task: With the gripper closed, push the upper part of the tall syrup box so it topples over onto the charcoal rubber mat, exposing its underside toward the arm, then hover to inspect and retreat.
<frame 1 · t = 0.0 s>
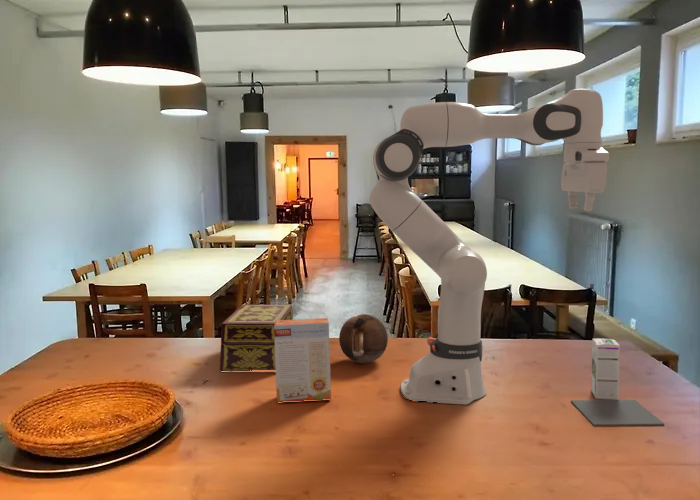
hand: (580, 209, 147), 48 cm above the table, fingers open, 8 cm apart
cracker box: (304, 399, 150), on the table
mat: (615, 412, 138), on the table
decorative box: (260, 359, 184), on the table
wooden sphere: (363, 362, 178), on the table
syrup box: (604, 396, 149), on the table
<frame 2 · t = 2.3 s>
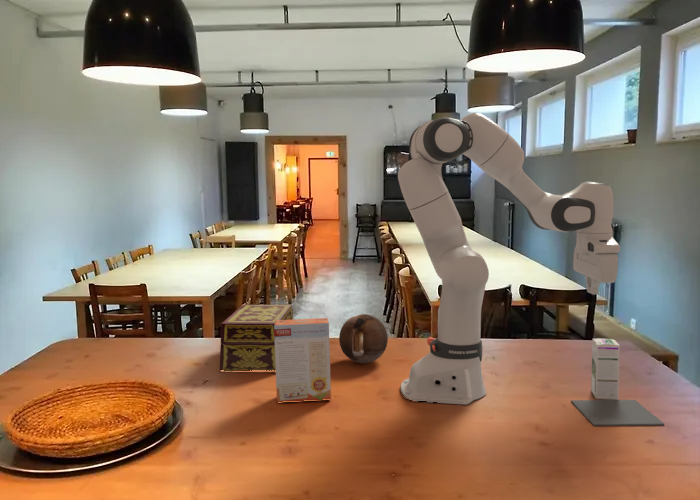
hand: (592, 293, 155), 25 cm above the table, fingers closed
nothing on the table moved.
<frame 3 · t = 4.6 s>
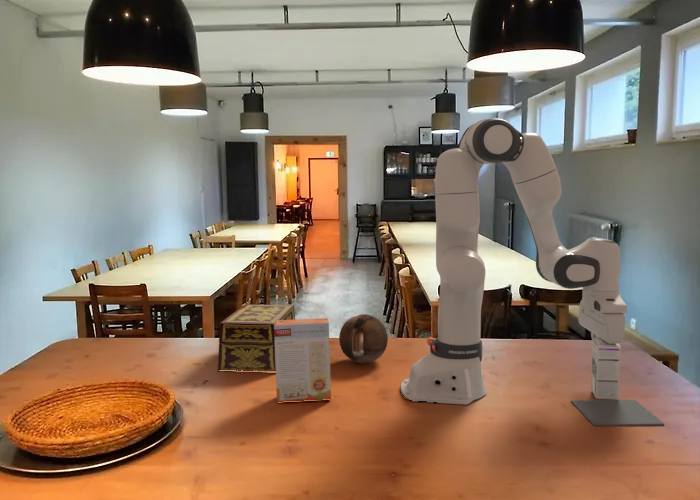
hand: (598, 350, 152), 11 cm above the table, fingers closed
syrup box: (604, 395, 149), on the table, touching gripper
everything else where it was.
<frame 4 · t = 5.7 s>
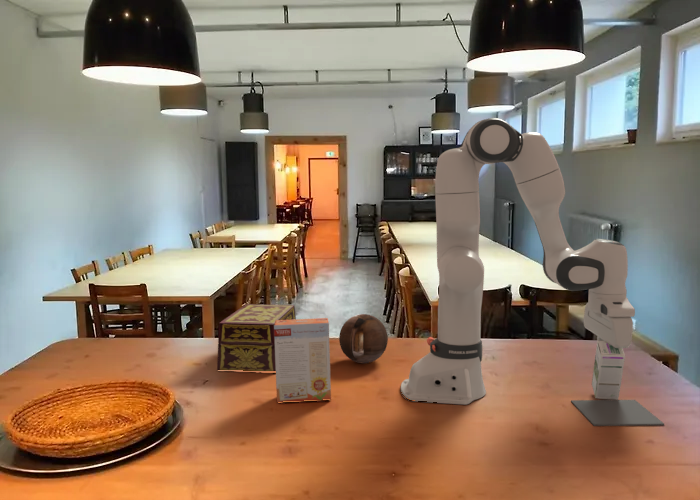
hand: (604, 354, 148), 11 cm above the table, fingers closed
syrup box: (604, 392, 149), point 1 cm above the table
everything else where it was.
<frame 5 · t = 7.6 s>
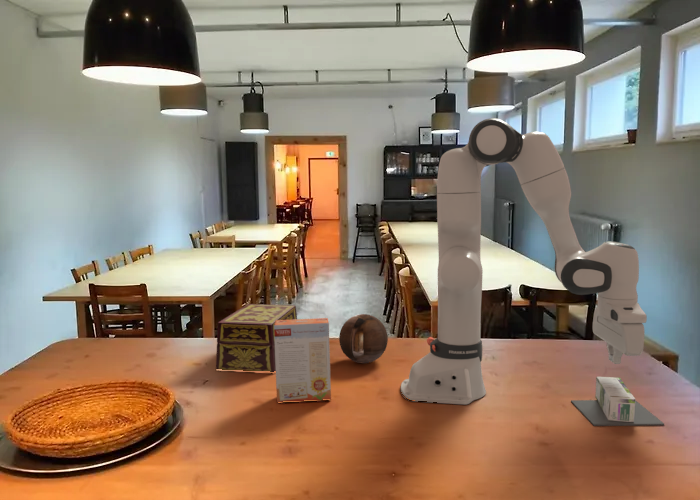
hand: (614, 362, 142), 11 cm above the table, fingers closed
syrup box: (606, 387, 146), point 3 cm above the table, touching mat
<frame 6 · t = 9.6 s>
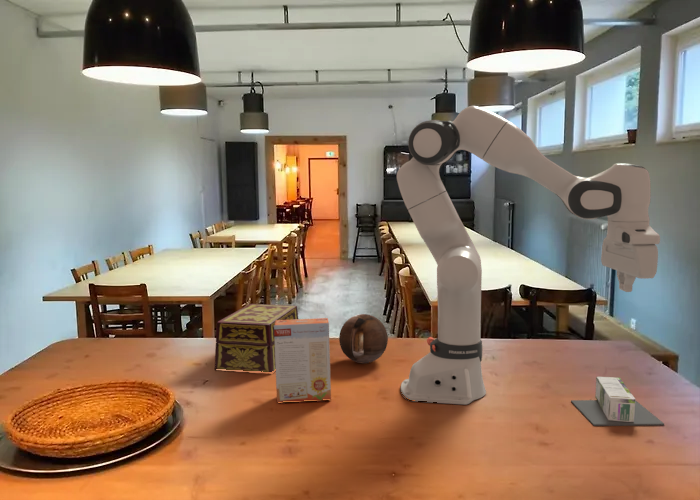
hand: (625, 290, 136), 29 cm above the table, fingers closed
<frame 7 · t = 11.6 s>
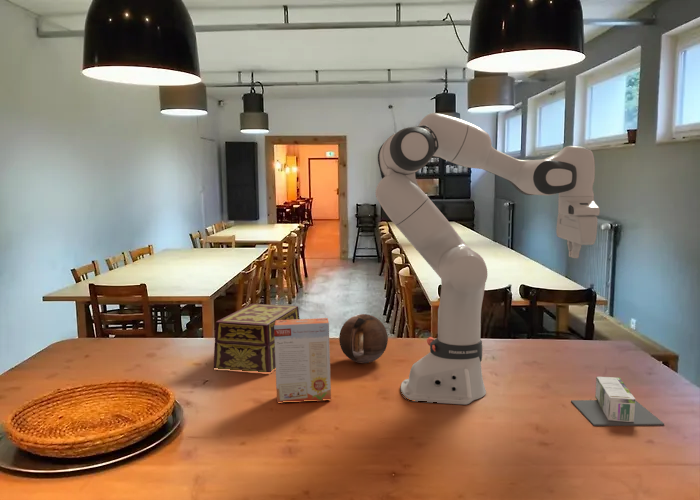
hand: (573, 257, 157), 34 cm above the table, fingers closed
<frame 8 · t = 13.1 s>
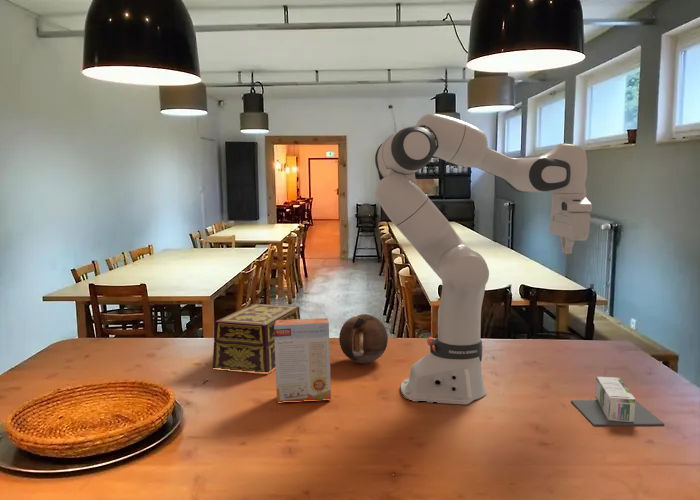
hand: (567, 253, 160), 35 cm above the table, fingers closed
at the end: syrup box tilted 90°; syrup box inside the target area (5.5 cm from its centre), point 3.2 cm above the table; the gripper is holding nothing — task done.
